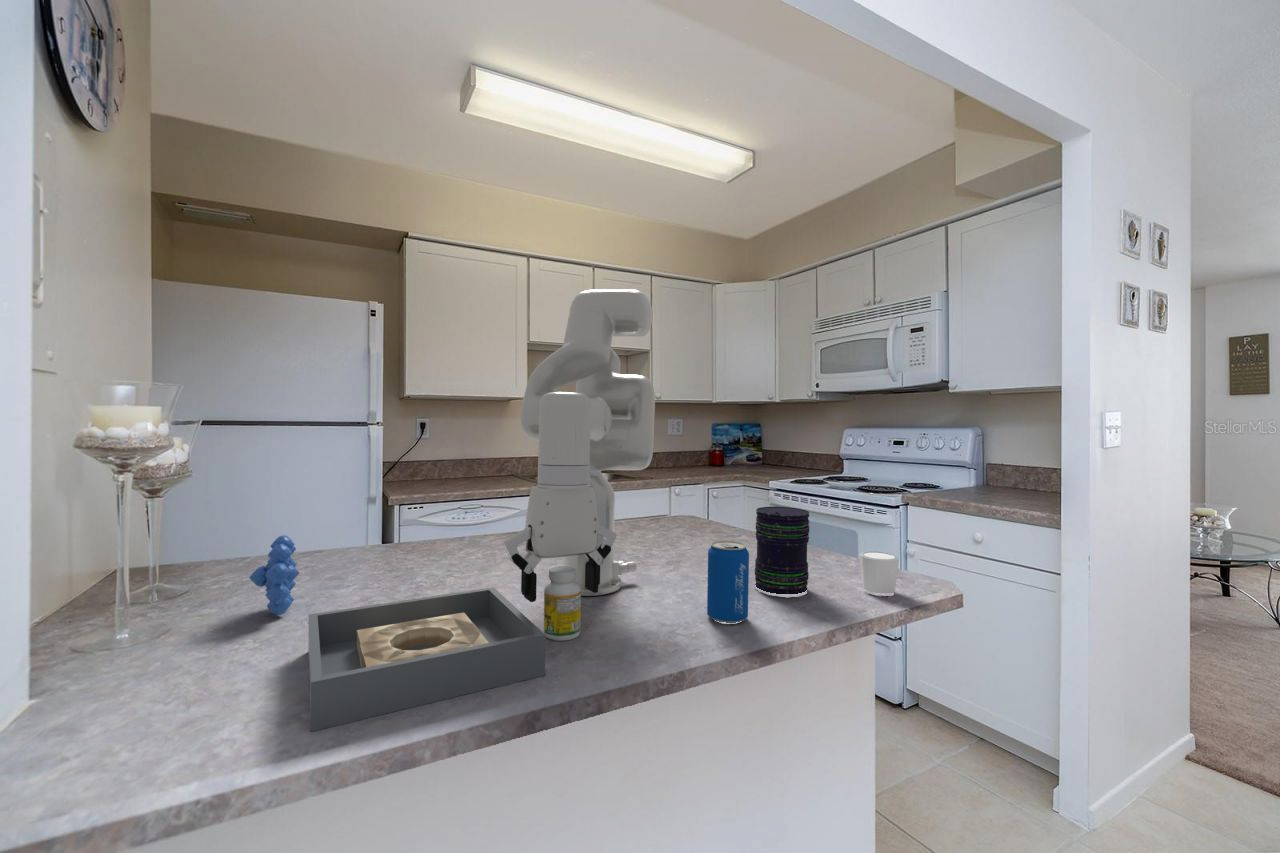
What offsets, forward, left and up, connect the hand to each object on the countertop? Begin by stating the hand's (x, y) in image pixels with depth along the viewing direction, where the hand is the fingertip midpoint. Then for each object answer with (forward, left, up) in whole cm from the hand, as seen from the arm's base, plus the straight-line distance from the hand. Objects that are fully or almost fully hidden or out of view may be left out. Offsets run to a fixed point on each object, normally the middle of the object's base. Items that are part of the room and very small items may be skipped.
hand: (561, 594), depth 81 cm
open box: (+19, -1, -6) cm, 20 cm away
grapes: (+36, -32, -6) cm, 48 cm away
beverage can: (-26, +6, -6) cm, 27 cm away
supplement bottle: (0, -1, -6) cm, 6 cm away
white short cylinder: (-60, +9, -6) cm, 61 cm away
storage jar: (-45, -1, -6) cm, 45 cm away
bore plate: (+19, -1, -5) cm, 20 cm away
